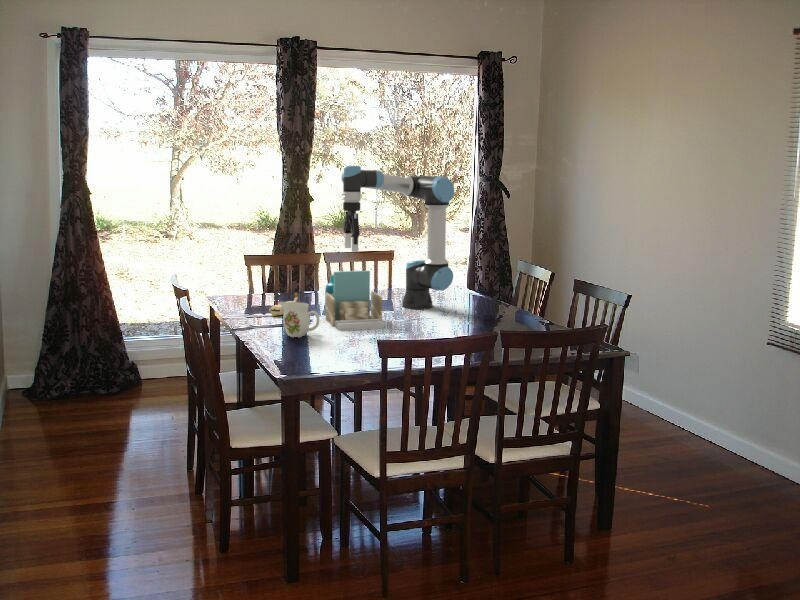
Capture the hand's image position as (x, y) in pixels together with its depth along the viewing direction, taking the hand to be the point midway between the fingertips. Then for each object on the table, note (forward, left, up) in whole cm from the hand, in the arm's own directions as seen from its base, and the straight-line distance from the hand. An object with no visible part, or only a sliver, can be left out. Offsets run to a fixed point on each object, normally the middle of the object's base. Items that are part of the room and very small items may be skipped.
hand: (351, 250), depth 352 cm
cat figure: (+25, -31, -34) cm, 52 cm away
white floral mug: (+27, +19, -33) cm, 47 cm away
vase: (+3, -18, -33) cm, 38 cm away
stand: (0, +15, -33) cm, 36 cm away
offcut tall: (0, +4, -32) cm, 32 cm away
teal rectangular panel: (0, 0, -32) cm, 32 cm away
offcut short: (0, +8, -32) cm, 33 cm away
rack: (0, +3, -33) cm, 33 cm away
